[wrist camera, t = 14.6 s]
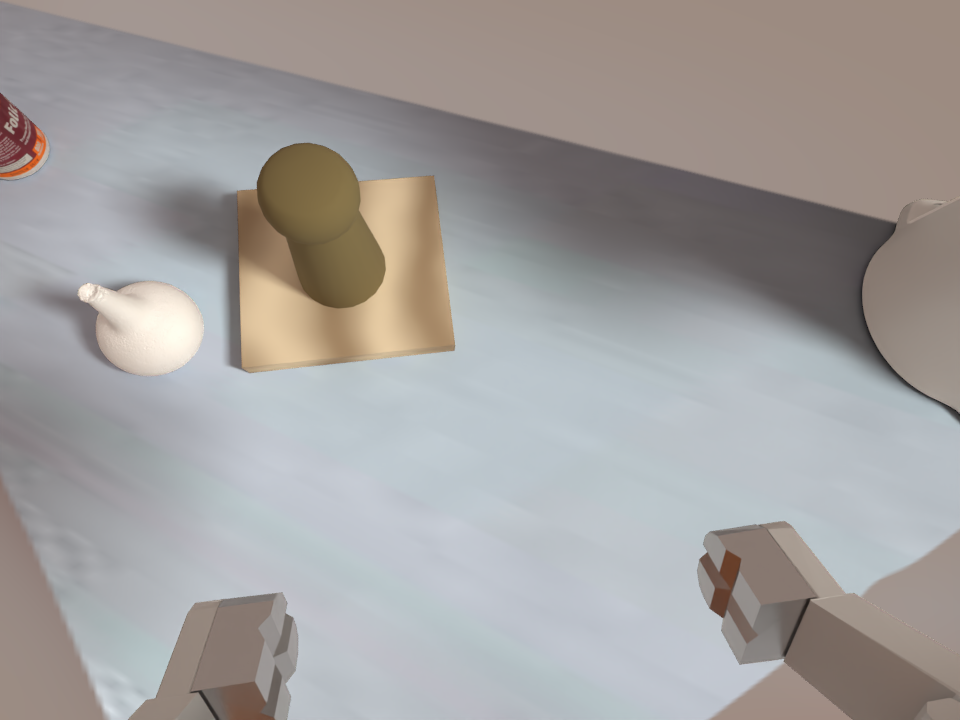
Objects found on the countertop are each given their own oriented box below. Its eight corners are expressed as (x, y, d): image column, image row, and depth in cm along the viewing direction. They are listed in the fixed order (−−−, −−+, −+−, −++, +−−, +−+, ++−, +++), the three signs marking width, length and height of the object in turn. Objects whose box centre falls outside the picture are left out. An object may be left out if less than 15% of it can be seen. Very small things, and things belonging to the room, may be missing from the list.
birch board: (434, 187, 41) (433, 175, 39) (454, 350, 38) (454, 344, 36) (244, 202, 39) (237, 190, 38) (249, 372, 36) (241, 367, 35)
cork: (289, 238, 37) (228, 136, 27) (374, 219, 38) (347, 112, 27) (307, 318, 36) (251, 243, 25) (395, 296, 37) (376, 215, 26)
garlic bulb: (230, 331, 38) (185, 279, 30) (159, 399, 36) (92, 361, 28) (164, 279, 38) (104, 215, 31) (91, 343, 36) (7, 291, 29)
